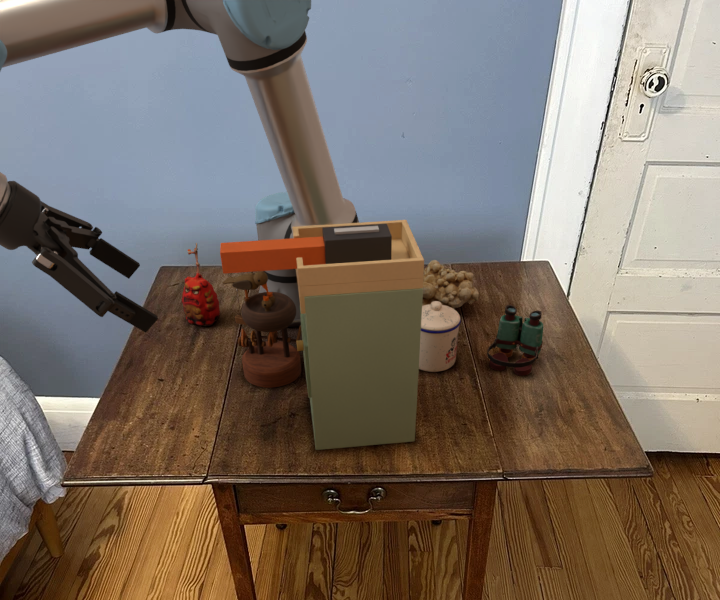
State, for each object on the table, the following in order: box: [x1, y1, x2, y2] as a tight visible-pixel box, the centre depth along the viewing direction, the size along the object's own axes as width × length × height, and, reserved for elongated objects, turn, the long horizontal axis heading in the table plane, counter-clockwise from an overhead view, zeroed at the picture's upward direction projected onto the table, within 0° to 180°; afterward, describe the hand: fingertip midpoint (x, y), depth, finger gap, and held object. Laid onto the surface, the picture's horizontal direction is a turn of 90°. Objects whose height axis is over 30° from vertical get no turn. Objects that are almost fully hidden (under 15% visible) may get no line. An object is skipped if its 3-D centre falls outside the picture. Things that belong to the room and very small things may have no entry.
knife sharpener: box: [219, 224, 392, 275], centre depth 93 cm, size 4×23×4 cm, turn 97°
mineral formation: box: [422, 259, 480, 310], centre depth 139 cm, size 8×13×15 cm
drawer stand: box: [292, 219, 425, 451], centre depth 103 cm, size 14×18×30 cm
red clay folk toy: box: [180, 242, 221, 327], centre depth 134 cm, size 8×7×15 cm
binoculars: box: [486, 304, 544, 377], centre depth 122 cm, size 9×11×10 cm
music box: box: [222, 271, 302, 389], centre depth 119 cm, size 15×11×20 cm
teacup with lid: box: [419, 301, 462, 373], centre depth 124 cm, size 12×9×12 cm
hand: (142, 296), depth 97 cm, fingers open, 13 cm apart
